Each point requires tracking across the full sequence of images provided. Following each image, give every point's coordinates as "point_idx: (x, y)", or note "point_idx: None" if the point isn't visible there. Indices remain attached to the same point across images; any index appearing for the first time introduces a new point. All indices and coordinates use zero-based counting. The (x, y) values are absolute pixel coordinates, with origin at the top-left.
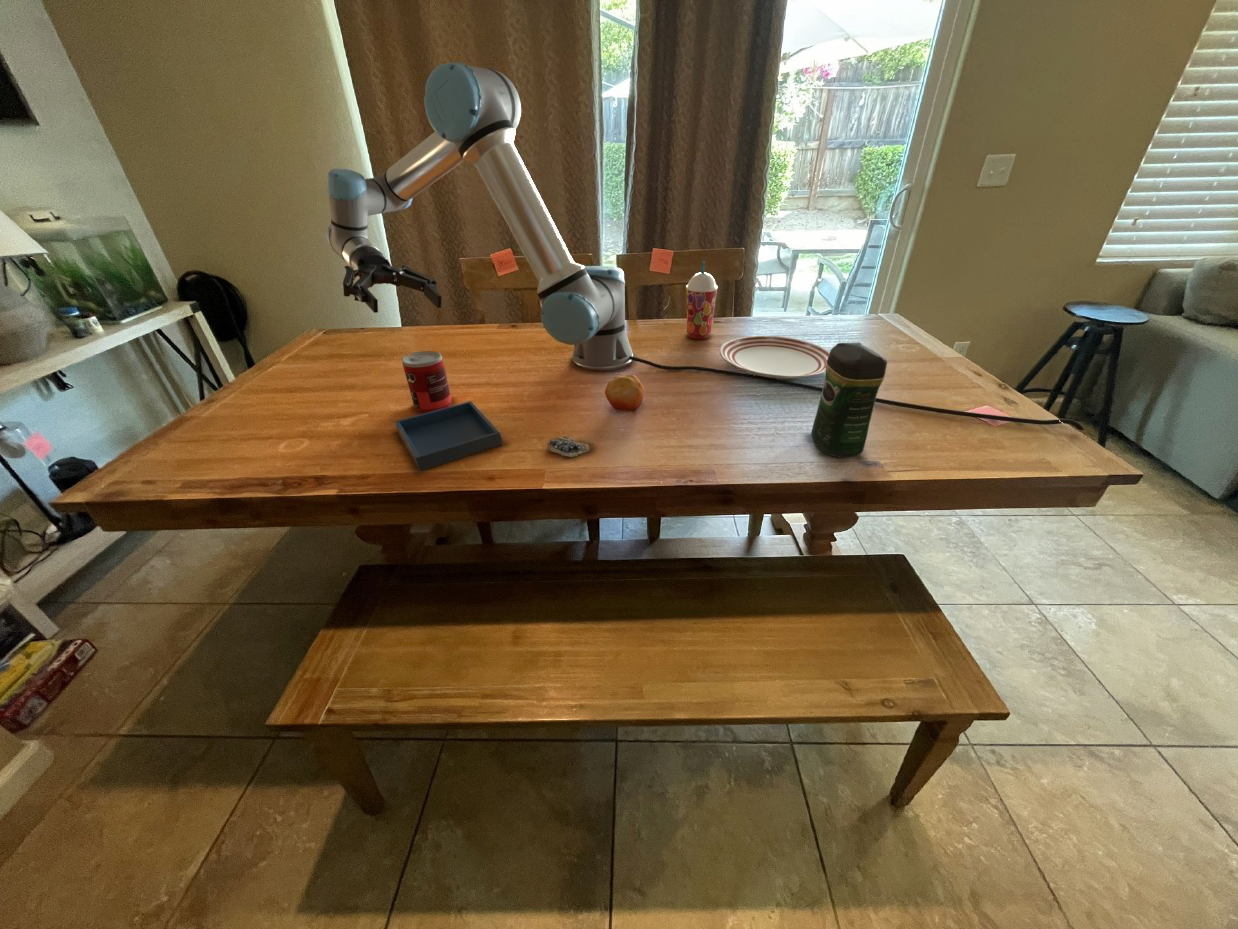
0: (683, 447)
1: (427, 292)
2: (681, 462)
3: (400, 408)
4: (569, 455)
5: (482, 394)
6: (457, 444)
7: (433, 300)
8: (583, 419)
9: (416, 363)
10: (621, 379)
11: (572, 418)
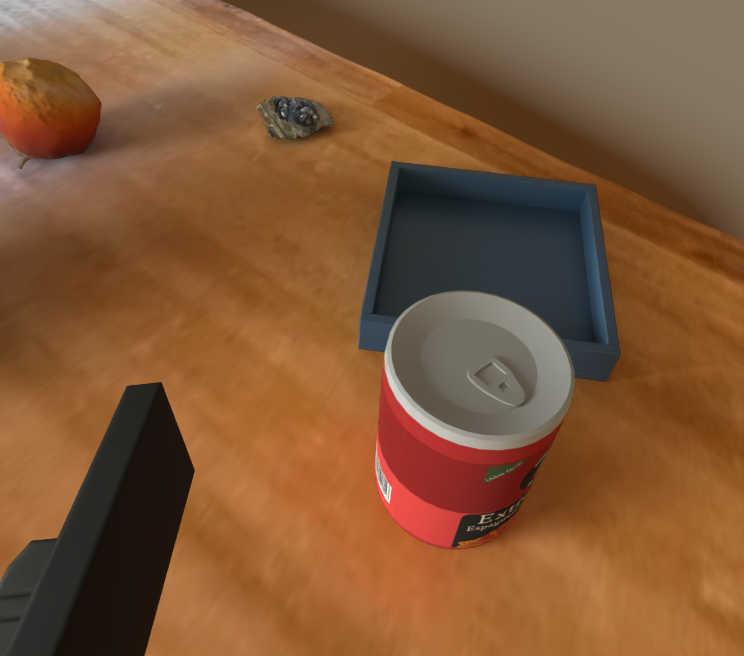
0: (146, 37)
1: (112, 641)
2: (191, 25)
3: (569, 551)
4: (311, 100)
5: (254, 440)
6: (496, 176)
7: (165, 516)
8: (172, 164)
9: (516, 337)
10: (38, 70)
11: (185, 179)
